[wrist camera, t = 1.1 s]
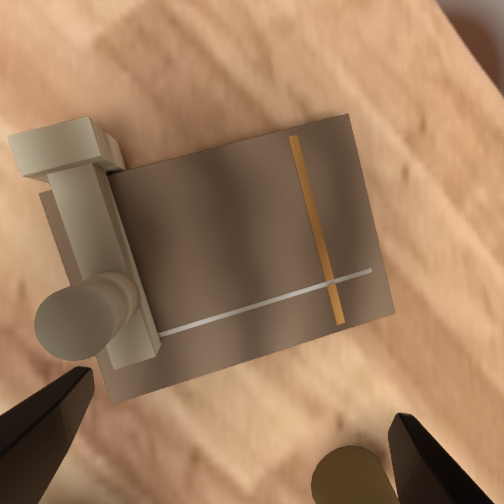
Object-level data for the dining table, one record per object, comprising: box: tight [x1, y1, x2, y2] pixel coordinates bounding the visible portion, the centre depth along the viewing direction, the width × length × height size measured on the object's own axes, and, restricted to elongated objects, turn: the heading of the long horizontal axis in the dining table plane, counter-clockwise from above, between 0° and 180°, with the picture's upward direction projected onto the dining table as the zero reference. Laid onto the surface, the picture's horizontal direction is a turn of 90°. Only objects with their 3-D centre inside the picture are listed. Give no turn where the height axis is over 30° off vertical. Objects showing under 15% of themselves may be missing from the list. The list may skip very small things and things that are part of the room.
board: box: [39, 114, 395, 405], centre depth 22 cm, size 20×14×2 cm
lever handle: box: [7, 117, 161, 370], centre depth 17 cm, size 4×13×9 cm, turn 16°
